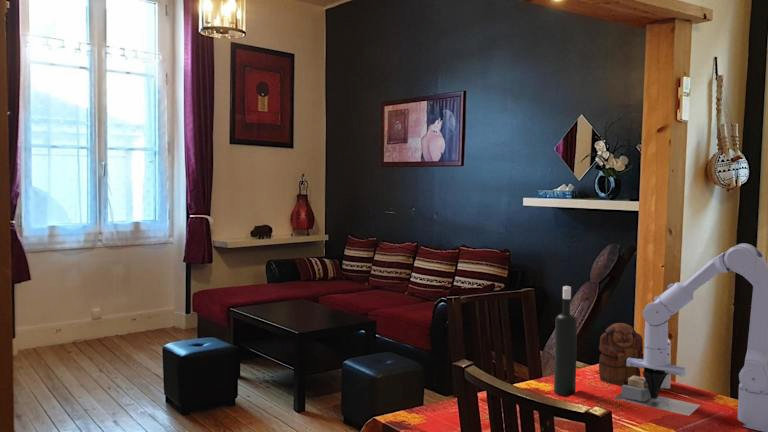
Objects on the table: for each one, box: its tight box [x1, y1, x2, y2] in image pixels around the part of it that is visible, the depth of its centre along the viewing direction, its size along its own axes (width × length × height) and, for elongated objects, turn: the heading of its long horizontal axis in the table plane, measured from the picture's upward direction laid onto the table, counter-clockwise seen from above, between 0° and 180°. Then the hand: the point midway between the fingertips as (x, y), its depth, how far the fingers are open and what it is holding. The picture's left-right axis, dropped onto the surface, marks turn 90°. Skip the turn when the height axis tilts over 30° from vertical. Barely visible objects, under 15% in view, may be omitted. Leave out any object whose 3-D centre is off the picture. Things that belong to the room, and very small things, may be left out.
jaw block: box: [627, 375, 648, 389], centre depth 171 cm, size 4×4×5 cm
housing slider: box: [621, 384, 651, 402], centre depth 172 cm, size 6×7×3 cm
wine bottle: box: [553, 285, 578, 397], centre depth 177 cm, size 6×6×30 cm
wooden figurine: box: [598, 322, 644, 386], centre depth 185 cm, size 12×6×18 cm, turn 98°
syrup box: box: [660, 338, 672, 389], centre depth 182 cm, size 6×6×14 cm
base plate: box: [613, 392, 701, 417], centre depth 168 cm, size 19×10×4 cm, turn 49°
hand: (654, 397), depth 169 cm, fingers closed
